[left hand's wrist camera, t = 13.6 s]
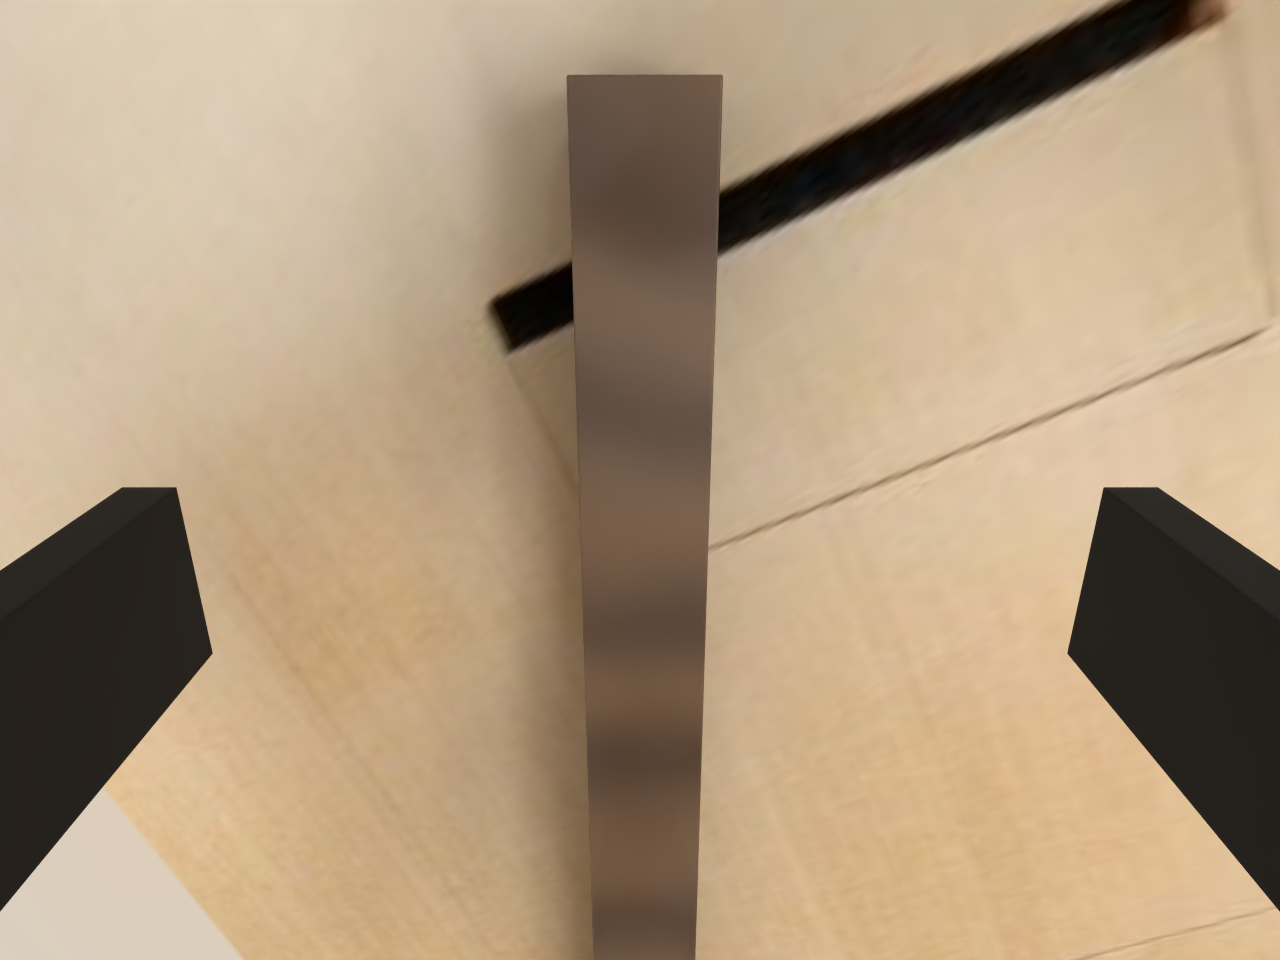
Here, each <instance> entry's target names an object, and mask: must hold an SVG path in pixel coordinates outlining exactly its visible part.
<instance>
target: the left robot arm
mask: <svg viewBox="0 0 1280 960" xmlns="http://www.w3.org/2000/svg"><path fill="white" fill-rule="evenodd" d="M212 654H213V653H212V648H211V644H210V639H209V635H208V630H207V626H206V621H205V616H204V612H203V607H202V603H201V598H200V594H199V589H198V584H197V580H196V575H195V571H194V566H193V562H192V557H191V552H190V548H189V543H188V539H187V534H186V530H185V525H184V521H183V516H182V511H181V507H180V502H179V498H178V493H177V489H176V487H122V488H121V489H119V490H118V491H116V492H115V493H113V494H112V495H110V496H109V497H107V498H106V499H105V500H103V501H102V502H100V503H99V504H97V505H96V506H94V507H93V508H91V509H90V510H88V511H87V512H85V513H84V514H83V515H81V516H80V517H78V518H77V519H75V520H74V521H72V522H71V523H69V524H68V525H66V526H65V527H63V528H62V529H61V530H59V531H58V532H56V533H55V534H53V535H52V536H50V537H49V538H47V539H46V540H44V541H43V542H41V543H40V544H39V545H37V546H36V547H34V548H33V549H31V550H30V551H28V552H27V553H25V554H24V555H22V556H21V557H20V558H18V559H17V560H15V561H14V562H12V563H11V564H9V565H8V566H6V567H5V568H3V569H2V570H0V911H1V910H2V909H3V907H4V906H5V905H6V904H7V903H8V901H9V900H10V899H11V898H12V896H13V895H14V894H15V893H16V892H17V890H18V889H19V888H20V887H21V886H22V884H23V883H24V882H25V881H26V879H27V878H28V877H29V876H30V875H31V873H32V872H33V871H34V870H35V869H36V867H37V866H38V865H39V864H40V862H41V861H42V860H43V859H44V858H45V856H46V855H47V854H48V853H49V852H50V850H51V849H52V848H53V847H54V845H55V844H56V843H57V842H58V841H59V839H60V838H61V837H62V836H63V835H64V833H65V832H66V831H67V830H68V828H69V827H70V826H71V825H72V824H73V822H74V821H75V820H76V819H77V818H78V816H79V815H80V814H81V813H82V811H83V810H84V809H85V808H86V807H87V805H88V804H89V803H90V802H91V801H92V799H93V798H94V797H95V796H96V794H97V793H98V792H99V791H100V790H101V788H102V787H103V786H104V785H105V784H106V782H107V781H108V780H109V779H110V777H111V776H112V775H113V774H114V773H115V771H116V770H117V769H118V768H119V767H120V765H121V764H122V763H123V762H124V760H125V759H126V758H127V757H128V756H129V754H130V753H131V752H132V751H133V750H134V748H135V747H136V746H137V745H138V743H139V742H140V741H141V740H142V739H143V737H144V736H145V735H146V734H147V733H148V731H149V730H150V729H151V728H152V726H153V725H154V724H155V723H156V722H157V720H158V719H159V718H160V717H161V716H162V714H163V713H164V712H165V711H166V709H167V708H168V707H169V706H170V705H171V703H172V702H173V701H174V700H175V698H176V697H177V696H178V695H179V694H180V692H181V691H182V690H183V689H184V688H185V686H186V685H187V684H188V683H189V681H190V680H191V679H192V678H193V677H194V675H195V674H196V673H197V672H198V671H199V669H200V668H201V667H202V666H203V664H204V663H205V662H206V661H207V660H208V658H209V657H210V656H211V655H212ZM1067 654H1068V655H1069V656H1070V657H1071V658H1072V660H1073V661H1074V662H1075V663H1076V664H1077V666H1078V667H1079V668H1080V669H1081V671H1082V672H1083V673H1084V674H1085V675H1086V677H1087V678H1088V679H1089V680H1090V681H1091V683H1092V684H1093V685H1094V686H1095V688H1096V689H1097V690H1098V691H1099V692H1100V694H1101V695H1102V696H1103V697H1104V698H1105V700H1106V701H1107V702H1108V703H1109V705H1110V706H1111V707H1112V708H1113V709H1114V711H1115V712H1116V713H1117V714H1118V716H1119V717H1120V718H1121V719H1122V720H1123V722H1124V723H1125V724H1126V725H1127V726H1128V728H1129V729H1130V730H1131V731H1132V733H1133V734H1134V735H1135V736H1136V737H1137V739H1138V740H1139V741H1140V742H1141V743H1142V745H1143V746H1144V747H1145V748H1146V750H1147V751H1148V752H1149V753H1150V754H1151V756H1152V757H1153V758H1154V759H1155V760H1156V762H1157V763H1158V764H1159V765H1160V767H1161V768H1162V769H1163V770H1164V771H1165V773H1166V774H1167V775H1168V776H1169V777H1170V779H1171V780H1172V781H1173V782H1174V784H1175V785H1176V786H1177V787H1178V788H1179V790H1180V791H1181V792H1182V793H1183V794H1184V796H1185V797H1186V798H1187V799H1188V801H1189V802H1190V803H1191V804H1192V805H1193V807H1194V808H1195V809H1196V810H1197V811H1198V813H1199V814H1200V815H1201V816H1202V818H1203V819H1204V820H1205V821H1206V822H1207V824H1208V825H1209V826H1210V827H1211V828H1212V830H1213V831H1214V832H1215V833H1216V835H1217V836H1218V837H1219V838H1220V839H1221V841H1222V842H1223V843H1224V844H1225V845H1226V847H1227V848H1228V849H1229V850H1230V852H1231V853H1232V854H1233V855H1234V856H1235V858H1236V859H1237V860H1238V861H1239V862H1240V864H1241V865H1242V866H1243V867H1244V869H1245V870H1246V871H1247V872H1248V873H1249V875H1250V876H1251V877H1252V878H1253V879H1254V881H1255V882H1256V883H1257V884H1258V886H1259V887H1260V888H1261V889H1262V890H1263V892H1264V893H1265V894H1266V895H1267V897H1268V898H1269V899H1270V900H1271V901H1272V903H1273V904H1274V905H1275V906H1276V907H1277V909H1278V910H1279V911H1280V570H1278V569H1277V568H1275V567H1274V566H1272V565H1271V564H1269V563H1268V562H1266V561H1265V560H1263V559H1262V558H1260V557H1259V556H1258V555H1256V554H1255V553H1253V552H1252V551H1250V550H1249V549H1247V548H1246V547H1244V546H1243V545H1241V544H1240V543H1238V542H1237V541H1236V540H1234V539H1233V538H1231V537H1230V536H1228V535H1227V534H1225V533H1224V532H1222V531H1221V530H1219V529H1218V528H1217V527H1215V526H1214V525H1212V524H1211V523H1209V522H1208V521H1206V520H1205V519H1203V518H1202V517H1200V516H1199V515H1197V514H1196V513H1195V512H1193V511H1192V510H1190V509H1189V508H1187V507H1186V506H1184V505H1183V504H1181V503H1180V502H1178V501H1177V500H1175V499H1174V498H1173V497H1171V496H1170V495H1168V494H1167V493H1165V492H1164V491H1162V490H1161V489H1159V488H1158V487H1104V489H1103V493H1102V498H1101V502H1100V507H1099V511H1098V516H1097V521H1096V525H1095V530H1094V534H1093V539H1092V543H1091V548H1090V552H1089V557H1088V562H1087V566H1086V571H1085V575H1084V580H1083V584H1082V589H1081V594H1080V598H1079V603H1078V607H1077V612H1076V616H1075V621H1074V626H1073V630H1072V635H1071V639H1070V644H1069V648H1068V653H1067Z"/></svg>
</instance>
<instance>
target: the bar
mask: <svg viewBox="0 0 1280 960" xmlns="http://www.w3.org/2000/svg"><path fill="white" fill-rule="evenodd" d="M722 88H723V76H722V75H567V107H568V140H569V172H570V205H571V238H572V271H573V303H574V336H575V369H576V402H577V434H578V467H579V500H580V533H581V565H582V598H583V631H584V664H585V696H586V729H587V762H588V795H589V827H590V860H591V893H592V926H593V958H594V960H695V948H696V916H697V884H698V852H699V820H700V789H701V757H702V725H703V693H704V661H705V629H706V598H707V566H708V534H709V502H710V470H711V438H712V407H713V375H714V343H715V311H716V279H717V247H718V215H719V184H720V152H721V120H722Z"/></svg>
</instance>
